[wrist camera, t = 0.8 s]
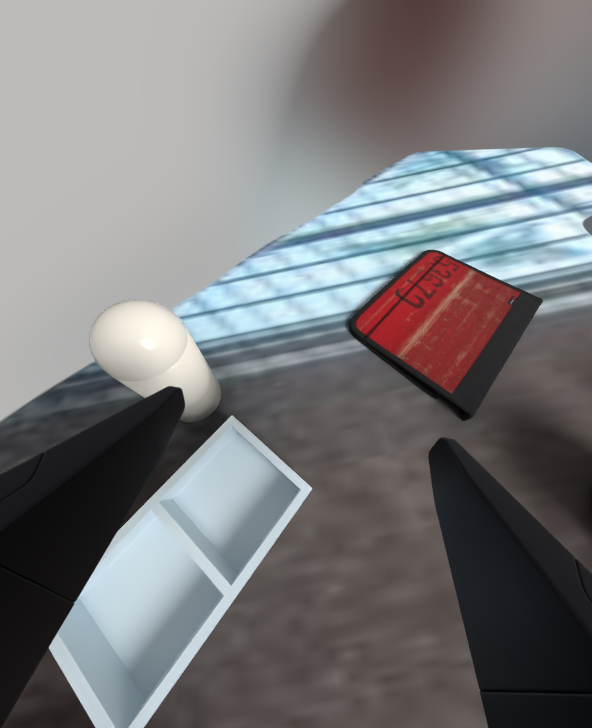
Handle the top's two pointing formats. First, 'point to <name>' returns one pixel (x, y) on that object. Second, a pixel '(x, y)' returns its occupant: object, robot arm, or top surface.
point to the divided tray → (174, 575)
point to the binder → (446, 327)
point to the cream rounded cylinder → (154, 355)
